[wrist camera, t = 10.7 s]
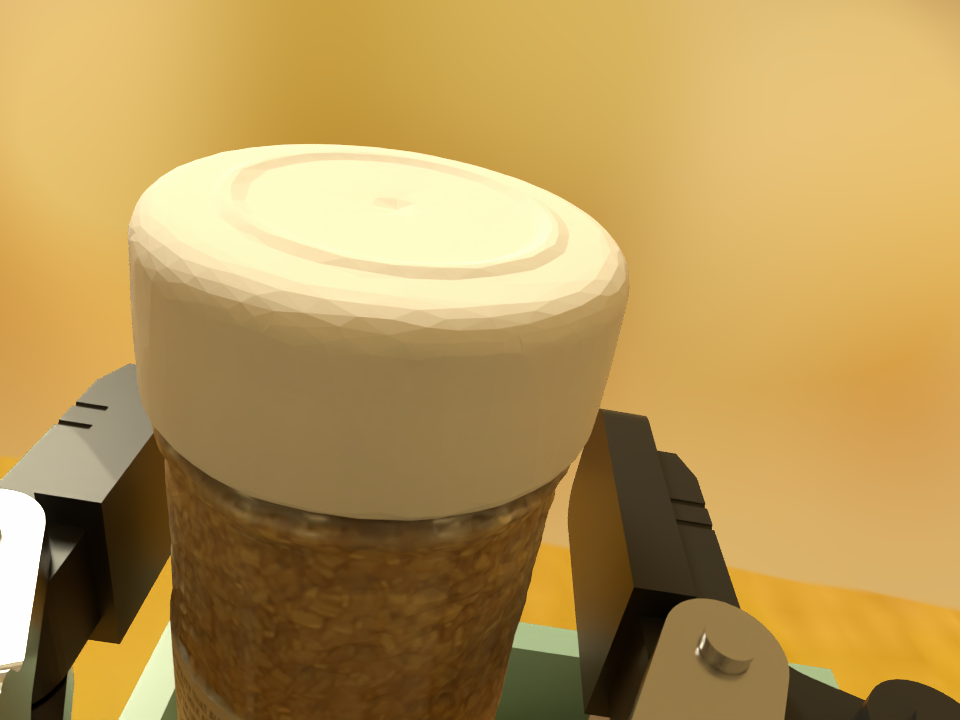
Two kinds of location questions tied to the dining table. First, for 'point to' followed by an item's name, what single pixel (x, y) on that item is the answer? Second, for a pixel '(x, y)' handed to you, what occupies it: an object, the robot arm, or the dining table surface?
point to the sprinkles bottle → (361, 419)
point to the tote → (525, 697)
